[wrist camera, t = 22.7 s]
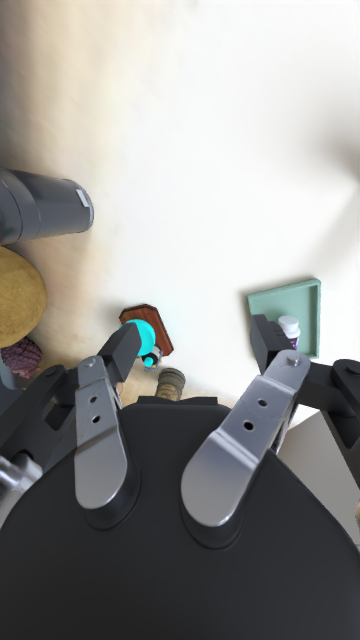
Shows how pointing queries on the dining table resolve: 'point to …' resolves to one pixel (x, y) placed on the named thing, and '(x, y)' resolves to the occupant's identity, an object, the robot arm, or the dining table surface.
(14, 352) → the pine cone
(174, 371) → the container
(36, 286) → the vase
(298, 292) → the tray
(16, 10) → the dining table surface
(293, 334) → the pill bottle
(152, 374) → the dining table surface
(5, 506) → the robot arm
